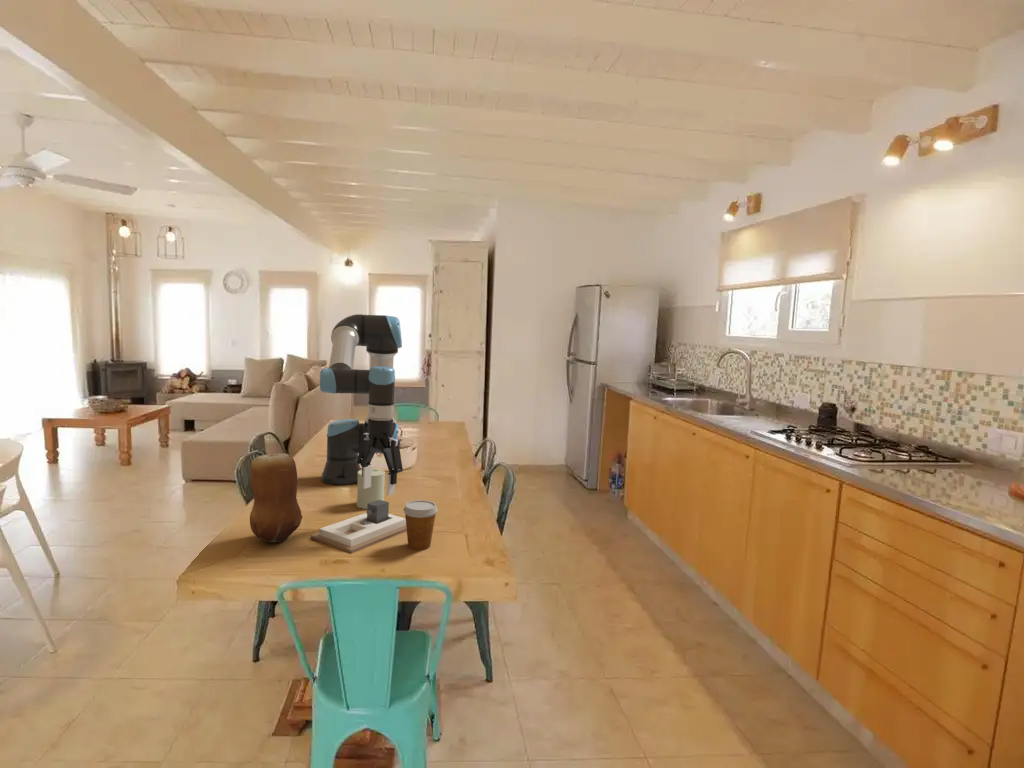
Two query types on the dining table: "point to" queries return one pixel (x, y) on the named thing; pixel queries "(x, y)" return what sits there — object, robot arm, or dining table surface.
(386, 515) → the plug
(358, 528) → the socket board
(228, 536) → the dining table surface
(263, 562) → the dining table surface
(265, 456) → the butternut squash
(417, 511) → the disposable coffee cup
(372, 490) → the can
